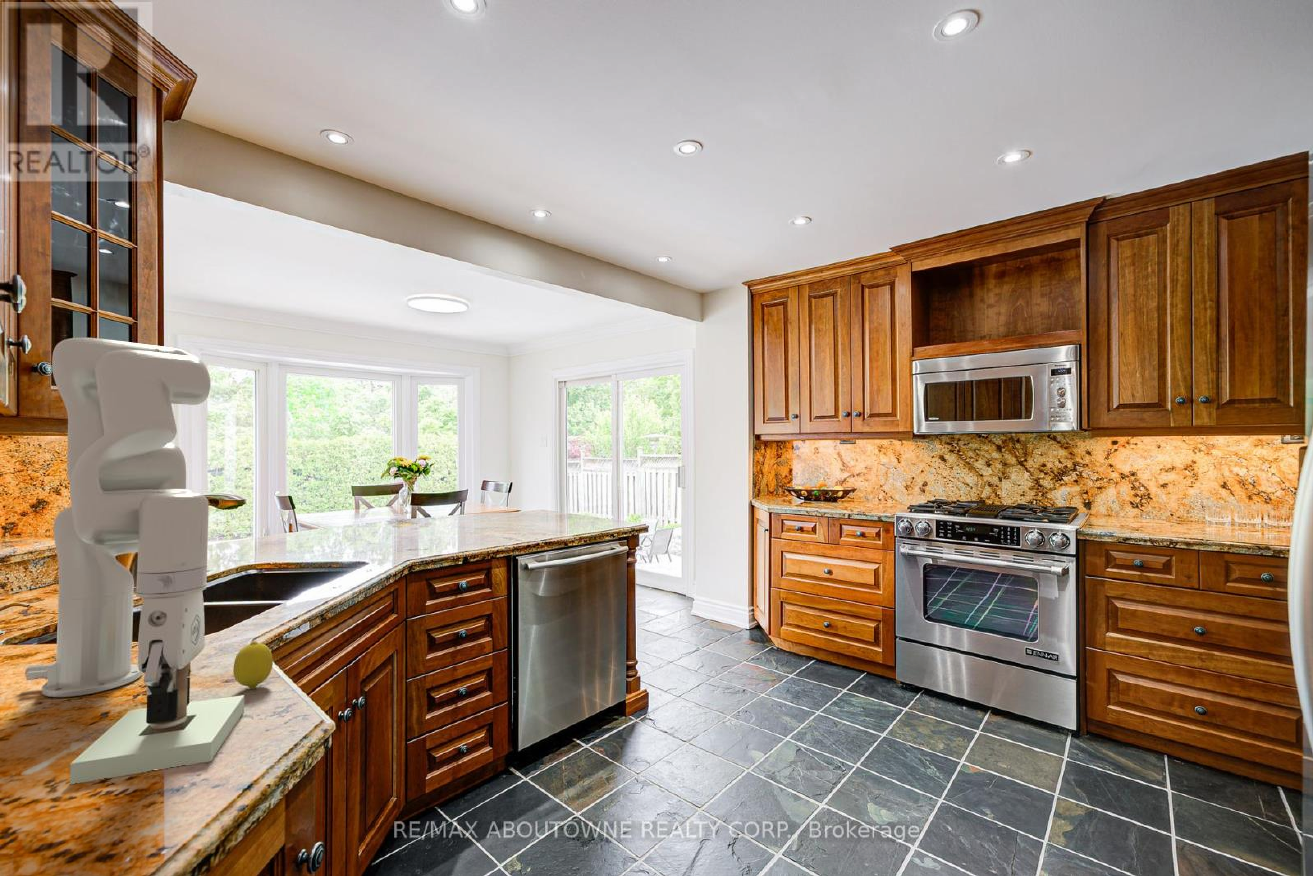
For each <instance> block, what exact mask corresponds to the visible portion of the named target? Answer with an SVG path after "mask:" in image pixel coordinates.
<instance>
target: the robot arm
mask: <svg viewBox="0 0 1313 876" xmlns="http://www.w3.org/2000/svg"><path fill="white" fill-rule="evenodd" d="M51 358H52V359H51V361H52V362H51V365H52V367H51V368H52V374H53V375H52V376H53V379H54V382H55V384H56V385H55V386H56V388H57V390H58V392H59V393H58V394H59V395H60V397H61V399H62V402H63V404H64V406H65V409H66V413H67V446H66V447H67V448H66V449H67V454H66V456H67V457H66V461H67V462H66V470H67V471H66V472H67V480H68V483H69V497H70V503H71V504H70V506H68V507H66V508H64V509H62V510H61V511H60V512H59V513H57V515H56V516H55V518H54V521H53V527H52V528H53V529H52V530H53V532H52V533H53V538H54V539H53V540H54V545H55V551H56V556H57V557H56V558H57V563H58V564H57V565H58V595H57V596H58V597H57V598H58V599H57V600H58V601H57V602H58V603H57V626H56V627H57V629H56V631H57V632H56V655H55V656H56V658H55V660H56V661H53V662H52V663H50V664H44V663H42V664H34V665H28V666H27V667H26V669H25V670H24V671H25V672H24V677H25V678H26V680H27V681H34V680H39V679H45V680H47V681H46V682H45V683H44V684H43V685H42V687H41V694H42V695H44V696H45V697H51V698H52V697H53V698H68V697H69V698H70V697H77V696H85V695H90V694H95V693H100V692H105V691H108V690H112V689H115V688H116V689H117V688H119V687H121V686H125V685H128V684H130V683H132V682H134V681H136V680H137V679H139V678H141V676H142V675H143V674H144V675H143V676H144V677H143V683H144V684H145V685H146V691H145V692H146V708H147V714H146V722H147V723H148V724H153V723H160V722H167V721H173V720H175V719H176V718H177V713H178V689H175V683H176V672H177V669H182V668H184V667H185V666H186V665H187V664H188V684H187V706H188V704H189V702H190V692H191V691H190V690H191V689H190V688H191V677H190V676H191V672H192V671H191V662H193V660H194V659H195V658H196V657H197V656H198V655H199V654H200V653H202V652H203V651H204V649H205V643H206V641H205V640H206V638H205V633H206V631H205V604H204V596H203V591H204V590H206V589H207V581H208V580H207V577H208V576H207V572H208V570H207V569H208V565H207V564H208V542H209V541H208V538H209V537H208V535H209V511H210V509H209V508H210V507H209V506H210V505H209V500H208V498H207V496H205V495H204V494H203V493H199V492H195V491H194V490H191V489H187V464H186V459H185V458H186V457H185V454H184V453H183V450H182V449H181V448H180V447H179V446H178V445H176V444H174V443H172V441H173V440H175V439H176V435H177V433H178V432H177V429H178V428H177V424H176V419H175V416H174V411H173V406H172V405H188V406H189V405H190V406H195V405H196V406H197V405H201V404H202V403H204V402H205V401H206V400H207V399H208V397H209V395H210V391H211V384H212V383H211V377H210V373H209V370H208V368H207V366H206V365H205V363H204V362H203V361H202V360H201V359H200V358H199V357H197V356H195V355H193V354H191V353H189V352H186V351H184V350H183V349H179V348H175V347H167V346H162V345H161V346H160V345H153V344H144V343H138V342H129V341H124V340H123V341H122V340H116V339H106V338H98V337H96V338H95V337H72V338H67V339H64V340H61V341H60V342H58V343H56V345H55V347H54V349H53V352H52V357H51ZM131 553H137V569H136V591H135V592H136V594H135V597H136V598H140V599H142V603H141V610H140V618H139V628H138V630H139V631H138V640H137V641H138V642H137V664H135V663H132V653H133V651H132V650H133V623H134V622H133V621H134V620H133V619H134V617H133V616H134V590H135V579H134V576H133V574H132V572H131V571H130V570H129V569H128V568H127V567H126V566H124V565H123V564H122V563H120V562H119V561H118V560H117V559H116V557H117V556H119V555H124V554H125V555H126V554H131ZM162 664H168V665H169V666H170V667H168V668H161V666H162ZM164 673H169V675H168V679H167V678H166V676H162V675H161V674H164Z"/></svg>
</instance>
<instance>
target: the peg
mask: <svg viewBox="0 0 1313 876" xmlns="http://www.w3.org/2000/svg"><path fill="white" fill-rule="evenodd" d="M168 667H170V666H169V665H168V664H162V666H161V668H168ZM161 675H162V676H166V678H167V679H168V675H169V673H164V674H161ZM187 684H188V664H187V665H186V666H185V667H184V668H182V669H177V672H176V683H175V689H178V713H177V718H176V719H175V720H173V721H167V722H160V723H153V724H150V727H151V728H153V734H158V733H165V732H172V731H179V730H183V727H184V721H186V719H187Z"/></svg>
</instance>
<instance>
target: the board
mask: <svg viewBox="0 0 1313 876" xmlns="http://www.w3.org/2000/svg"><path fill="white" fill-rule="evenodd" d="M244 712H245V694H244V695H236V696H228V697H221V698H220V697H219V698H213V699H206V700H197V701H189V704H188V706H187V719H186V721H184V727H183V730H179V731H172V732H165V733H158V734H153V728H151V727H150V724H148V723H147V722H146V714H147V707H144V708H136V709H130V710H129V711H127V712H126V713H125V714H124V715H123V716H122V717H121V718H120V719H118V720H117V721H116V722H115V723H114V724H113V725H112V726H111V727H109V728H108V729H107V730H106V731H104V733H103V734H101V735H100V737H98V739H96V740H95V741H94V742H93V743H92V744H91V745H90V746H89V747H87V748H86V749H85V750H84V751H83V752H82V753H80V755H79V756H77V757H76V758H75V759H74V760H73V761H72V762H70V765H69V766H70V767H69V771H70V772H69V785H70V784H71V785H74V784H75V783H77V784H81V783H82V784H83V783H88V782H94V780H95V781H98V780H97V779H101V780H105V779H104V778H107V779H111V778H112V779H113V778H119V777H124V776H125V777H126V776H130V775H136V774H143V773H148V772H147V771H150V770H154V769H162V770H165V769H164V768H168V769H170V768H169V767H174V766H179V765H186V766H191V765H197V764H203V763H209V762H211V761H213V759H214V757H215V756H216V754H217V753H218V752H219V750H220V748H221V747H222V745H223V744H224V743H225V741H226V739H227V738H228V737H229V735H230V733H231V732H232V730H233V729H234V727H235V726H236V724H237V722H239V720H240V718H241V717H242V715H243V714H244ZM174 768H175V767H174ZM142 772H143V773H142ZM150 772H151V771H150ZM75 785H76V784H75Z"/></svg>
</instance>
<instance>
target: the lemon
mask: <svg viewBox="0 0 1313 876" xmlns="http://www.w3.org/2000/svg"><path fill="white" fill-rule="evenodd" d="M273 661H274V660H273V654H272V651H271V649H270V648H269V646H267V645H266V644H264V643H260V642H258V641H255V640H254V641H251V642H250V643H249V644H247V645H245V646H243V647H242V648H241V649H240V650H239V651H238V653H237V654H236V656H235V659H234V663H233V677H234V678H235V680H236V682H237V683H239V684H240V686H245V687H248V688H249V689H250V690H253V689H256V687H257V686H258V685H260V684H261V683H263V682H264V681H266V680H267V679H268V677H269V676H270V674H271V672H272V669H273V664H274V662H273Z"/></svg>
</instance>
